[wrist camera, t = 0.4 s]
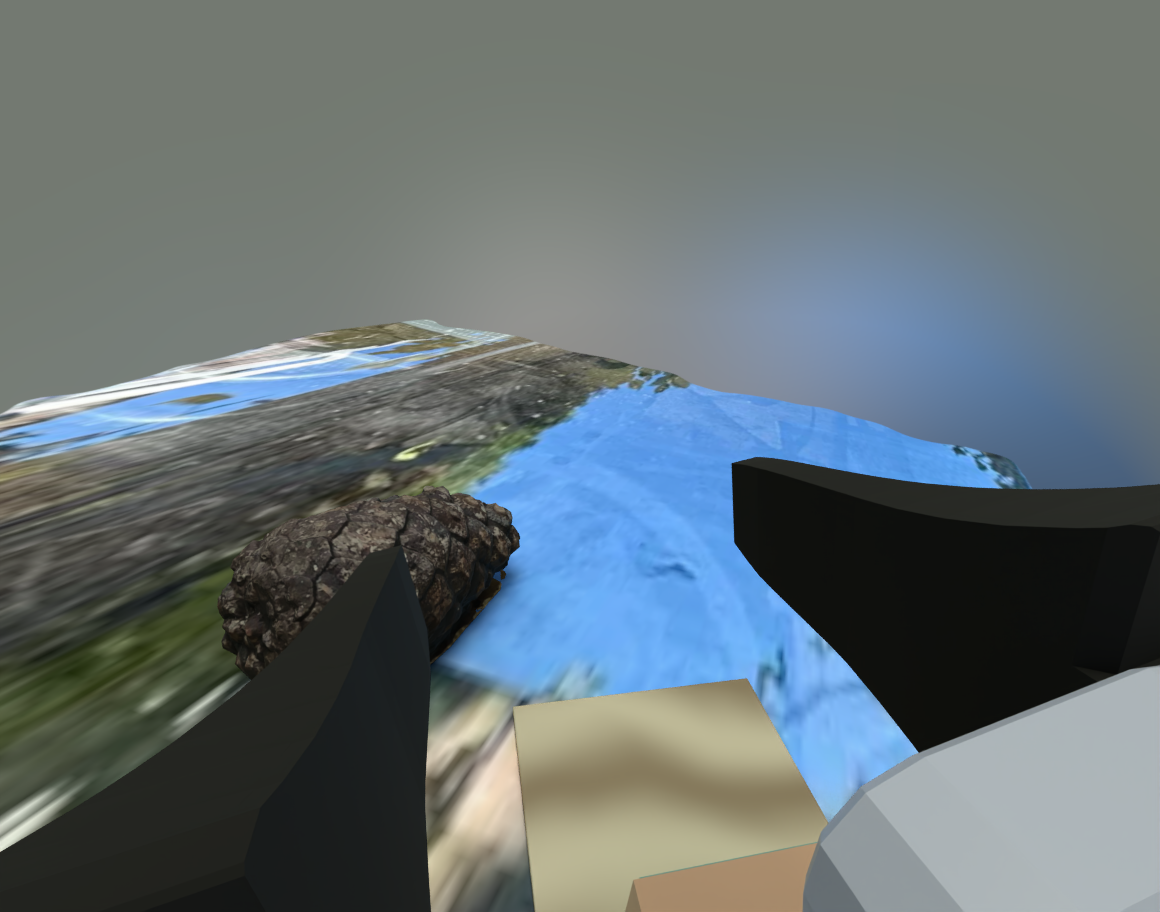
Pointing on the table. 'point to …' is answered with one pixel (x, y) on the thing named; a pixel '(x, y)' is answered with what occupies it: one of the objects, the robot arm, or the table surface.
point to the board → (652, 789)
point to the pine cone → (337, 547)
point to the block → (729, 885)
